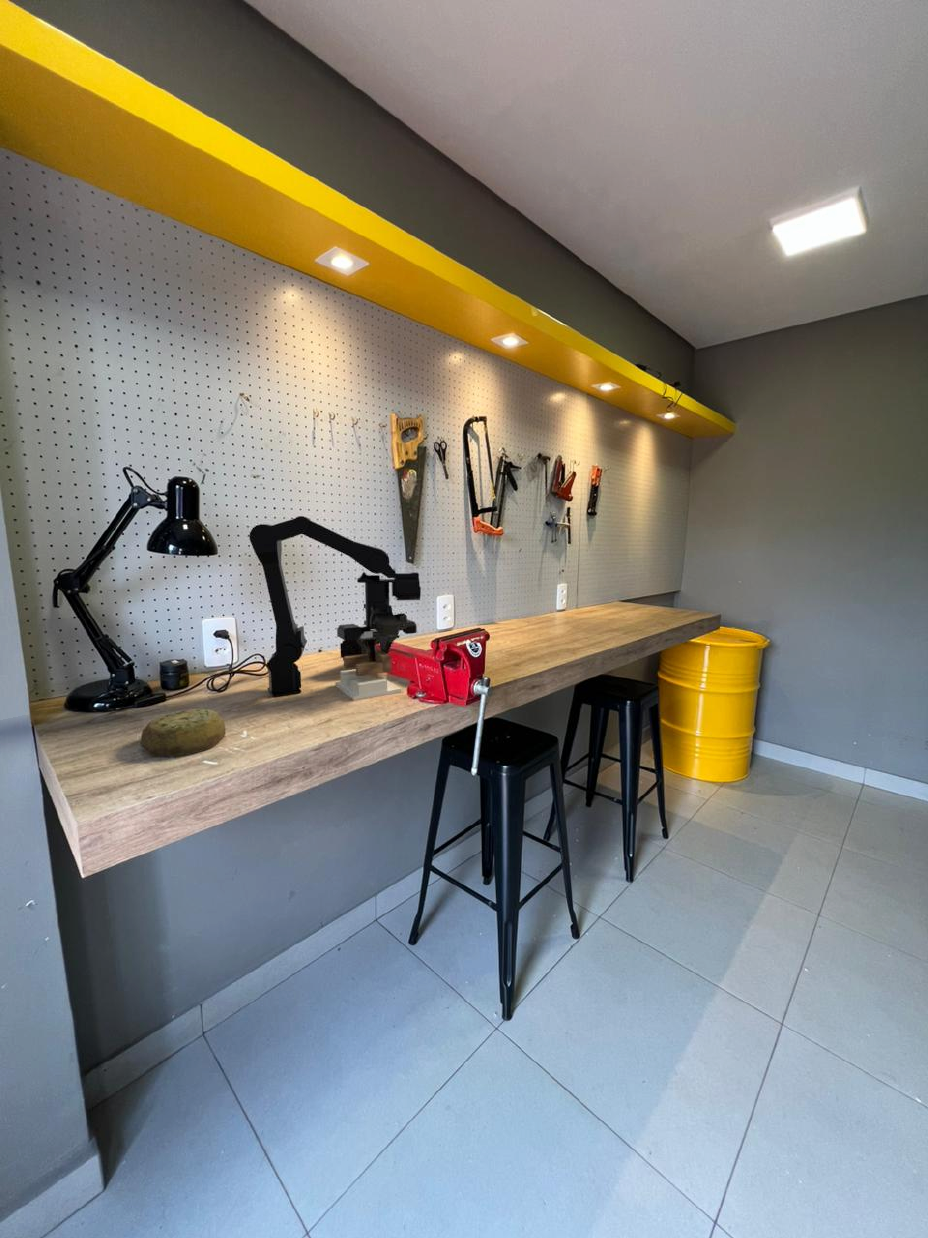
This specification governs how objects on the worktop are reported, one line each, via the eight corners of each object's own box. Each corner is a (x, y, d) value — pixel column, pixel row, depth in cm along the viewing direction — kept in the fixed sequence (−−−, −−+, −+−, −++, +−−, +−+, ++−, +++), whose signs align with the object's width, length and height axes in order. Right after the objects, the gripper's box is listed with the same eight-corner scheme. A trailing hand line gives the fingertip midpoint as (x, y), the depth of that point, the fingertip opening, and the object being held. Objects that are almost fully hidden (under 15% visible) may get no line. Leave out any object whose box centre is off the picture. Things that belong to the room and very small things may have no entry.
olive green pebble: (167, 728, 96) (164, 704, 95) (237, 727, 97) (236, 703, 96) (125, 760, 83) (121, 732, 82) (207, 759, 84) (205, 731, 83)
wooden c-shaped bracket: (358, 676, 114) (358, 659, 113) (343, 666, 122) (343, 650, 122) (391, 671, 118) (391, 655, 118) (374, 662, 127) (374, 647, 126)
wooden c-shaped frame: (353, 700, 113) (353, 685, 112) (335, 685, 123) (334, 672, 123) (401, 692, 119) (401, 678, 118) (379, 678, 130) (379, 665, 129)
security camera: (398, 662, 146) (398, 629, 145) (360, 678, 130) (359, 641, 128) (379, 659, 149) (378, 626, 147) (339, 674, 133) (338, 638, 131)
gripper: (352, 608, 107) (353, 677, 110) (427, 602, 117) (427, 665, 120) (335, 601, 117) (337, 665, 119) (406, 597, 127) (406, 656, 129)
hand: (378, 663), depth 122 cm, fingers closed on wooden c-shaped bracket, 2 cm apart
